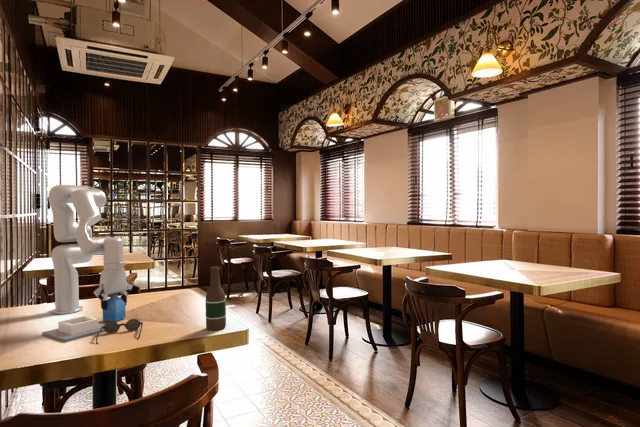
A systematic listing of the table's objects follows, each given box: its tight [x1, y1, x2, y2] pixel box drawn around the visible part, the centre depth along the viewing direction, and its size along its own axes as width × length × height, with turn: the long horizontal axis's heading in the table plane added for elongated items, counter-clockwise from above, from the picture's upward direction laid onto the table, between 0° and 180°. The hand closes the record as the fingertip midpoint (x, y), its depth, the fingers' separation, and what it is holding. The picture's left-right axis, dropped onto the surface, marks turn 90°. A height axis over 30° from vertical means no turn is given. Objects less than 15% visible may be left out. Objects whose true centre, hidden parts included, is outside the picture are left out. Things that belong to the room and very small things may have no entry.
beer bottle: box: [205, 266, 227, 332], centre depth 158 cm, size 8×8×24 cm
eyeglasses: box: [95, 318, 144, 345], centre depth 150 cm, size 15×15×5 cm
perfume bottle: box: [102, 293, 126, 322], centre depth 174 cm, size 6×6×12 cm
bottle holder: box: [41, 315, 107, 343], centre depth 157 cm, size 18×18×4 cm
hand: (114, 307), depth 174 cm, fingers closed on perfume bottle, 8 cm apart
